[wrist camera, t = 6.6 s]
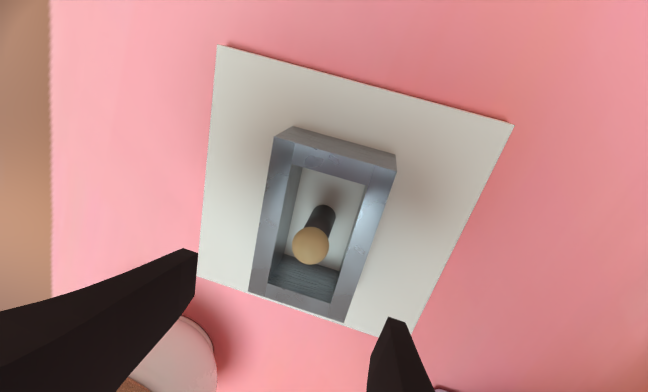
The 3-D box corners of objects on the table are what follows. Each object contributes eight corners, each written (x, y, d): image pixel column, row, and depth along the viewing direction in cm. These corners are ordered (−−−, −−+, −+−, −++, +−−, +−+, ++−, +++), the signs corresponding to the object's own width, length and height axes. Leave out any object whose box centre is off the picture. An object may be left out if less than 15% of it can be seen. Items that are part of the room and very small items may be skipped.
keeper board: (404, 334, 21) (409, 411, 17) (204, 267, 23) (154, 321, 18) (507, 122, 15) (562, 145, 11) (226, 46, 17) (160, 35, 12)
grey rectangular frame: (349, 288, 20) (343, 323, 17) (266, 261, 20) (247, 291, 17) (395, 154, 16) (397, 171, 13) (292, 125, 16) (273, 136, 14)
